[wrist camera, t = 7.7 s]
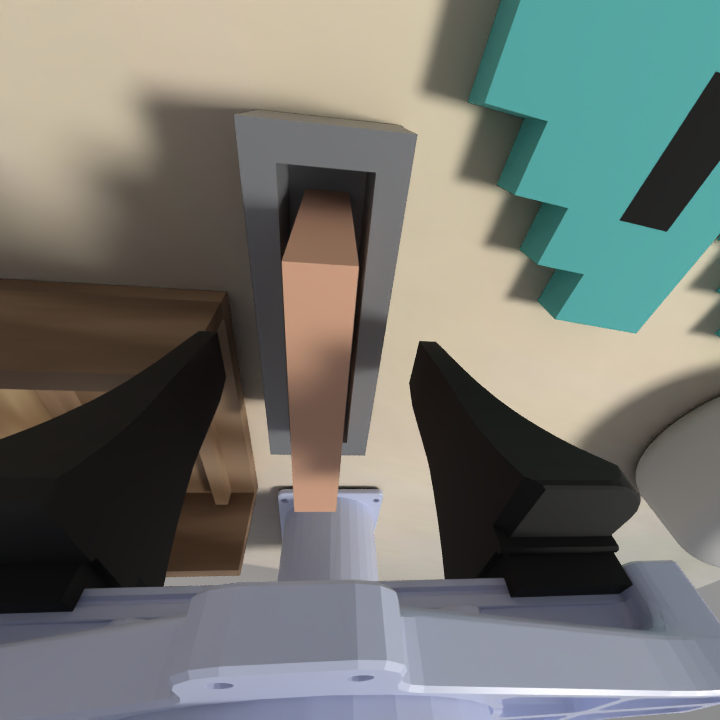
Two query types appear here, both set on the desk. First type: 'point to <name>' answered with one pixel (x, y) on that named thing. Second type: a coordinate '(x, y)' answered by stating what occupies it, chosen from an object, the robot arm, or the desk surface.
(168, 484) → the robot arm
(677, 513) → the donut shape
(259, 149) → the holder
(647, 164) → the alien figure
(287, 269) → the salmon rectangular block
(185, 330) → the rack
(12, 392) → the offcut
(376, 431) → the desk surface
